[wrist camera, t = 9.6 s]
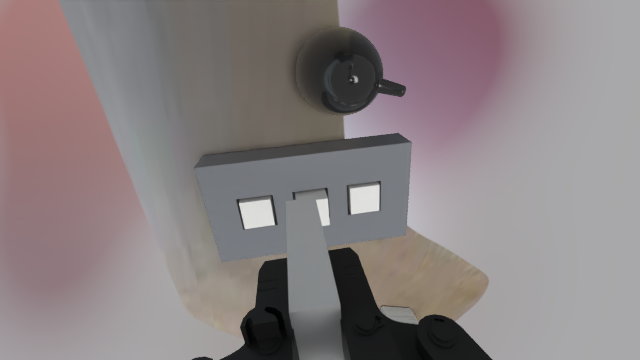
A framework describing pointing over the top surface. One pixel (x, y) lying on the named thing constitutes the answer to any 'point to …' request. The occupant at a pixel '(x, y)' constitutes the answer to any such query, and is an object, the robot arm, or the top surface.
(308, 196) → the button
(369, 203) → the button
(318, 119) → the top surface
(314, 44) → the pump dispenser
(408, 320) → the supplement box
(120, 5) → the top surface
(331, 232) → the console
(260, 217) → the button
